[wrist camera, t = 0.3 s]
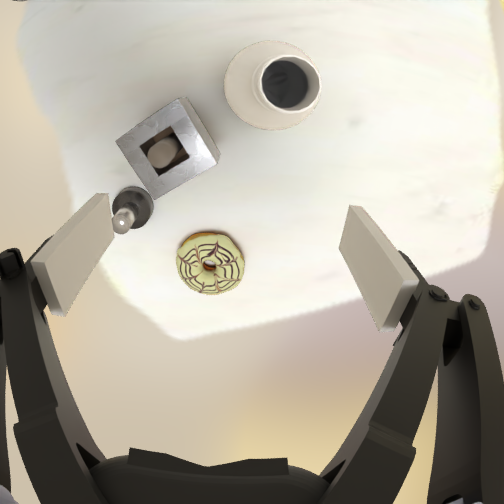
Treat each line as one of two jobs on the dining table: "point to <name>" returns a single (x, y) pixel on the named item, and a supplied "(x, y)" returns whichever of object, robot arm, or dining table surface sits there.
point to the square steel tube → (190, 135)
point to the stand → (165, 148)
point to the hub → (131, 209)
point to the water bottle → (272, 85)
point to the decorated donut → (216, 251)
